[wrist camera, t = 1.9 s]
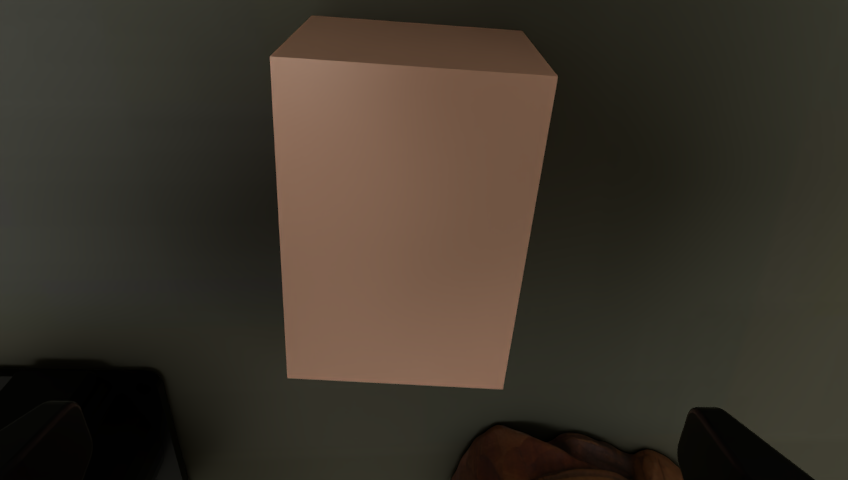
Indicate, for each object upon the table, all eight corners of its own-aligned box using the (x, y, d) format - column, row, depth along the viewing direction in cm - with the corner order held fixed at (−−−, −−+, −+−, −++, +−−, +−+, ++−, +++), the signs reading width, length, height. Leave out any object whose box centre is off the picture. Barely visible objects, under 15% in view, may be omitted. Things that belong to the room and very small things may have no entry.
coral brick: (485, 282, 20) (503, 389, 15) (317, 272, 20) (287, 378, 15) (521, 29, 16) (557, 76, 12) (312, 14, 16) (270, 56, 11)
